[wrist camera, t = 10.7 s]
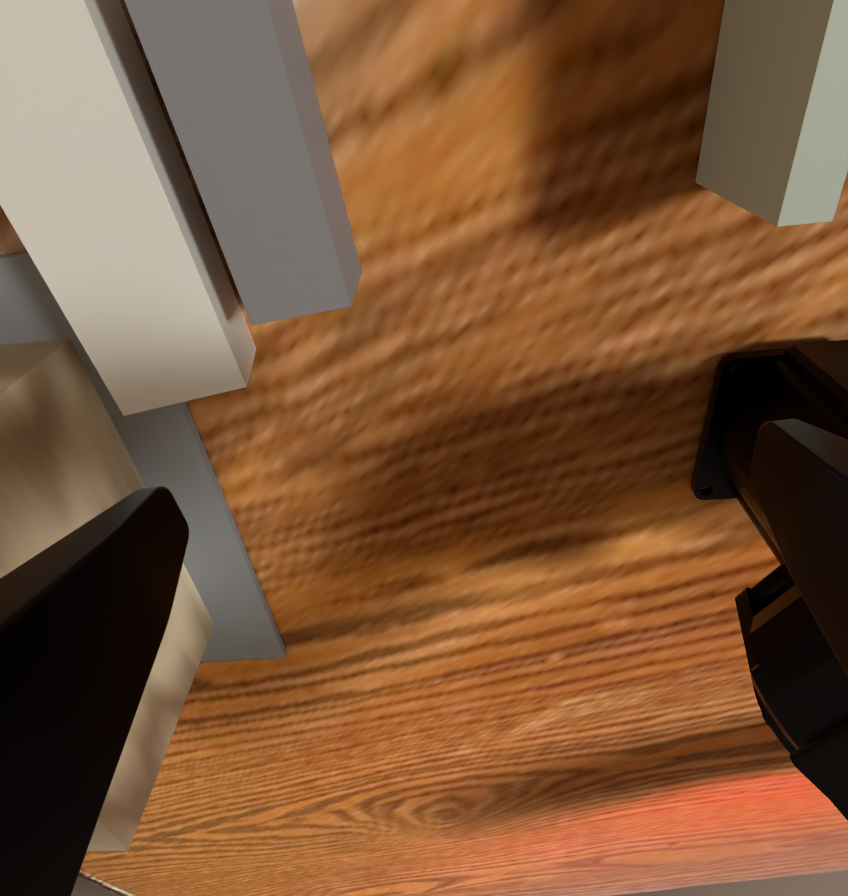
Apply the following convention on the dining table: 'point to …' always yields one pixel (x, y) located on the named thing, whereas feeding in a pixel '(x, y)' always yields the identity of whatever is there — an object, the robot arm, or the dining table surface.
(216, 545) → the mat
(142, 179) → the offcut lower
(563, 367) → the dining table surface
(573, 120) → the dining table surface
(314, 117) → the offcut upper
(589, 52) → the dining table surface
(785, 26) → the panel
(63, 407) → the beige brown block
